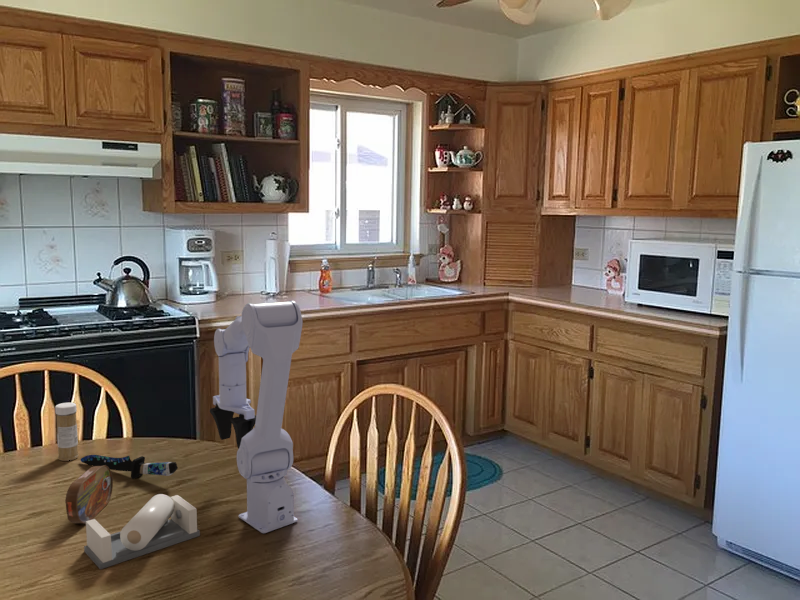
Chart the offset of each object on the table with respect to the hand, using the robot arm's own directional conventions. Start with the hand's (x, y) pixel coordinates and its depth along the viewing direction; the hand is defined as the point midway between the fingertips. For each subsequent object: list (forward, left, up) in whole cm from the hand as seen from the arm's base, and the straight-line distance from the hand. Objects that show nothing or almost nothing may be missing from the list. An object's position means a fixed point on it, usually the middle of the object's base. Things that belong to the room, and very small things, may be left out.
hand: (233, 443), depth 148 cm
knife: (+21, +16, -10) cm, 28 cm away
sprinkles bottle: (+40, +23, -10) cm, 47 cm away
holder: (-13, +26, -10) cm, 30 cm away
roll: (-14, +25, -5) cm, 29 cm away
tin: (+6, +29, -10) cm, 31 cm away
